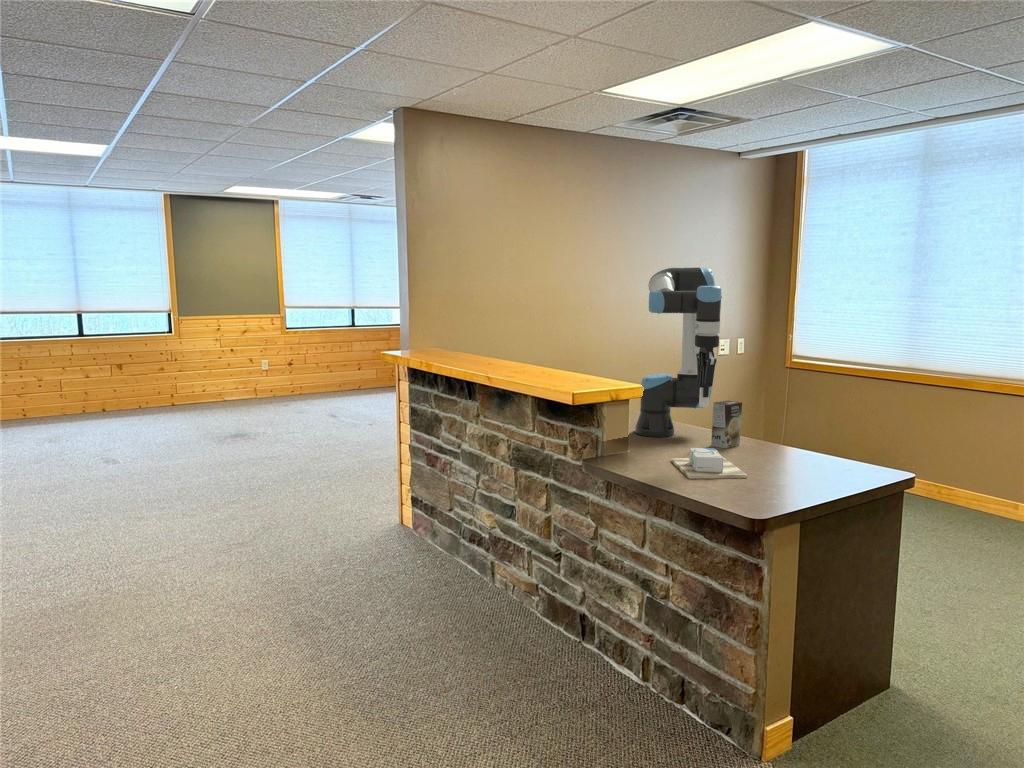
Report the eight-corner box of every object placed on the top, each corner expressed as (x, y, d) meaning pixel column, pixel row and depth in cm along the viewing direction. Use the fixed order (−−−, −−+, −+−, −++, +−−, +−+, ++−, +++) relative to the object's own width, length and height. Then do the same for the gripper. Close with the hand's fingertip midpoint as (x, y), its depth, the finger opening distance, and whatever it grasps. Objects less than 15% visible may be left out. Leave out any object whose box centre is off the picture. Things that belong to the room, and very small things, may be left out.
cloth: (671, 461, 230) (671, 458, 230) (724, 460, 230) (724, 457, 230) (689, 478, 210) (689, 475, 210) (746, 477, 211) (747, 474, 211)
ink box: (715, 448, 224) (724, 457, 212) (715, 462, 224) (723, 472, 213) (689, 447, 224) (696, 456, 213) (688, 462, 225) (695, 471, 213)
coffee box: (725, 449, 246) (727, 405, 244) (710, 445, 251) (712, 402, 249) (740, 445, 252) (742, 402, 249) (725, 441, 257) (727, 399, 254)
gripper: (689, 332, 226) (686, 402, 230) (702, 336, 213) (698, 411, 217) (711, 332, 226) (708, 402, 230) (725, 336, 213) (722, 410, 218)
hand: (703, 406), depth 224 cm, fingers closed
